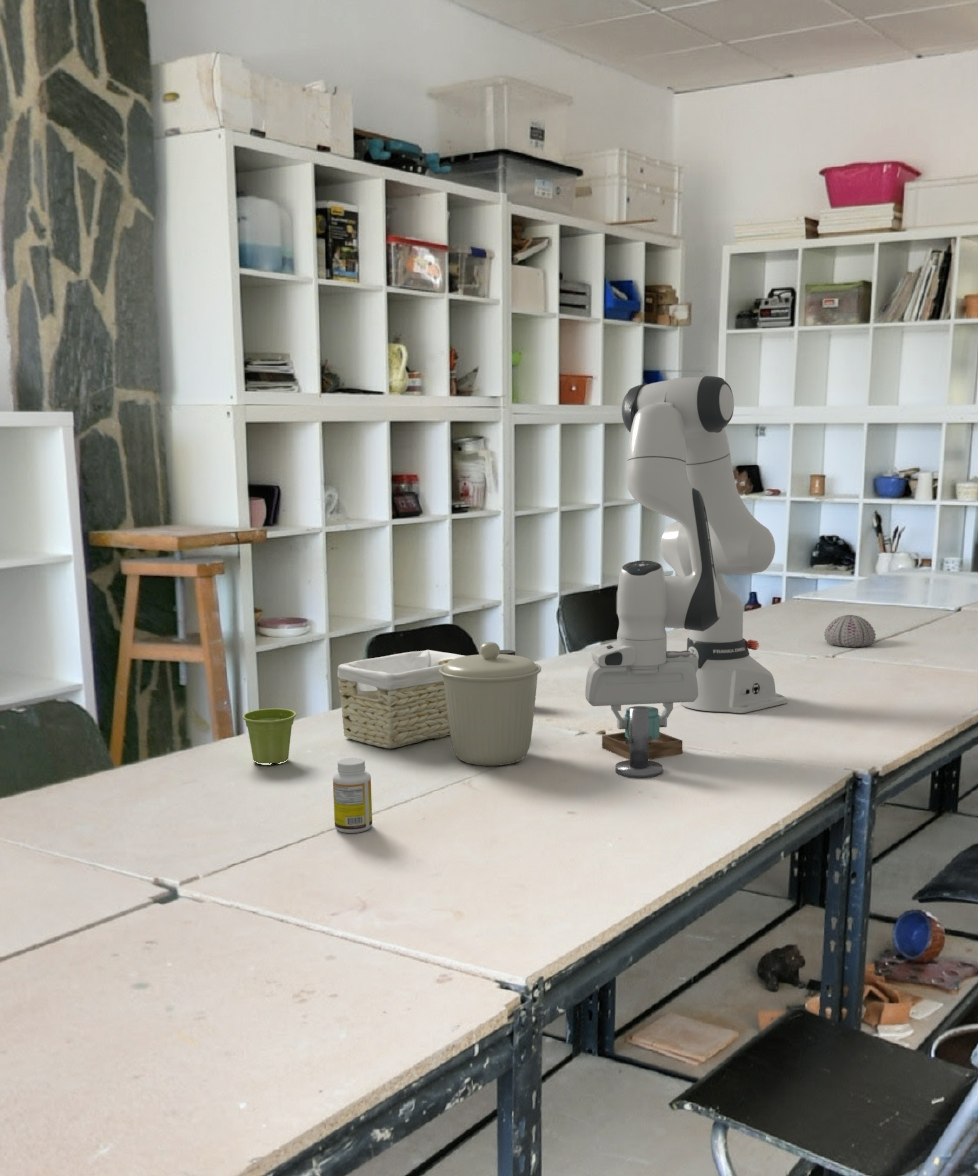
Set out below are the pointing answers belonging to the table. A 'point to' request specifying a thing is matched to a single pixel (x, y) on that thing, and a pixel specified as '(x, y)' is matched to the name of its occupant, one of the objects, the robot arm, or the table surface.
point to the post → (638, 748)
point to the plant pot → (270, 734)
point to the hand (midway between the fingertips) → (641, 727)
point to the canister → (490, 705)
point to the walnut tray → (655, 747)
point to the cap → (652, 723)
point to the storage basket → (395, 698)
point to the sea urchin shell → (850, 632)
